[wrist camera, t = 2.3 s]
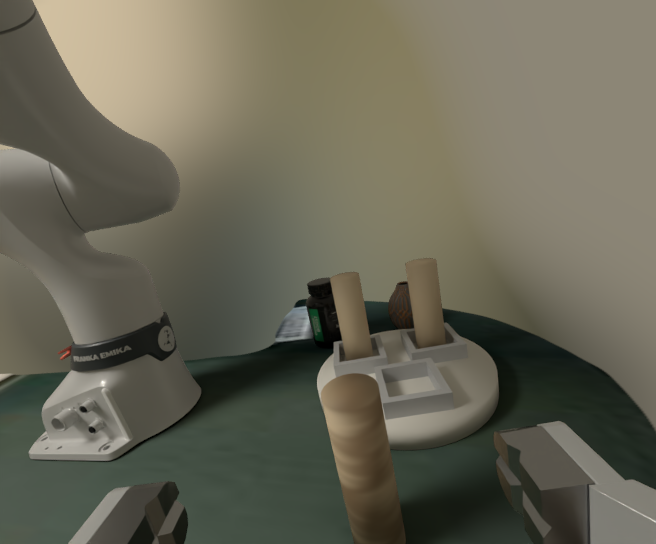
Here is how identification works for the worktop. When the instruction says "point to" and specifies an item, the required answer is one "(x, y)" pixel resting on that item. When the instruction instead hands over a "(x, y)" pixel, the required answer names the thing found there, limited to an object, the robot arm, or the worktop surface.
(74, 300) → the robot arm
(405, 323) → the vase
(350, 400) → the stool leg
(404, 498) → the worktop surface
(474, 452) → the worktop surface
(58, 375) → the worktop surface
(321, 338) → the supplement bottle
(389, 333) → the stool seat
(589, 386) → the worktop surface
